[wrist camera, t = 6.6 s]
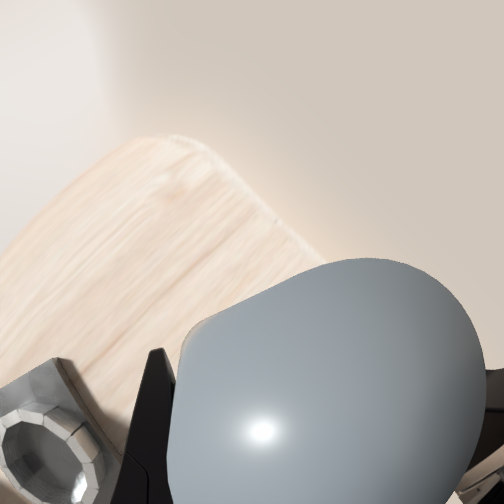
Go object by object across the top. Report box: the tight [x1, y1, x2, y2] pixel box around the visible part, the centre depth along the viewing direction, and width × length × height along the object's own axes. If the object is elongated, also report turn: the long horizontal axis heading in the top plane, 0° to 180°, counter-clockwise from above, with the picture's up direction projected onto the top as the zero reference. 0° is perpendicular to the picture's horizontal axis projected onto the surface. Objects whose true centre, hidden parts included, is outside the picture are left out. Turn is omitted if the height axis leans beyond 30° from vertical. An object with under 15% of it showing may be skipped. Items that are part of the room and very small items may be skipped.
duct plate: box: [0, 357, 122, 504], centre depth 14 cm, size 12×9×4 cm
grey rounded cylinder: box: [167, 258, 486, 504], centre depth 9 cm, size 4×4×13 cm
